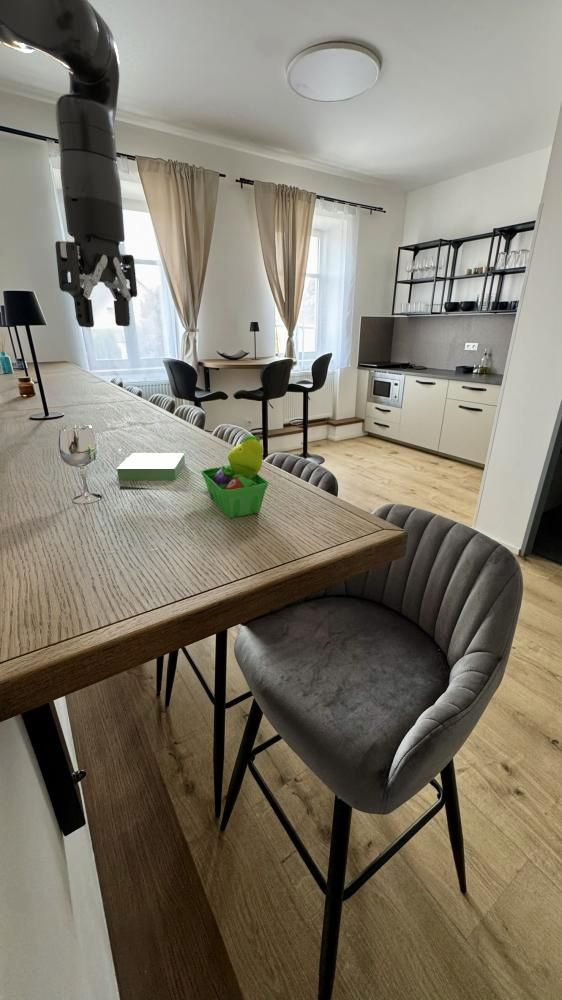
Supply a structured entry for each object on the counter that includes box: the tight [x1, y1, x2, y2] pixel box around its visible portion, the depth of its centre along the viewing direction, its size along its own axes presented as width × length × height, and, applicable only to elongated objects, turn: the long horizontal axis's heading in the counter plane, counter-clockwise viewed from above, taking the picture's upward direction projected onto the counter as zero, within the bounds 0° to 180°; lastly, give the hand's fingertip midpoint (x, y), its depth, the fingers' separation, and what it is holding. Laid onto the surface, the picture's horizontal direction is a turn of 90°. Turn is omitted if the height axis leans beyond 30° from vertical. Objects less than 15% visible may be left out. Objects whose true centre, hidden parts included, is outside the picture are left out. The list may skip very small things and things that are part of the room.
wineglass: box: [57, 424, 103, 505], centre depth 67 cm, size 6×6×12 cm
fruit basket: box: [200, 435, 269, 519], centre depth 65 cm, size 11×9×11 cm
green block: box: [116, 452, 186, 491], centre depth 77 cm, size 10×10×4 cm
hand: (105, 326), depth 64 cm, fingers open, 8 cm apart
